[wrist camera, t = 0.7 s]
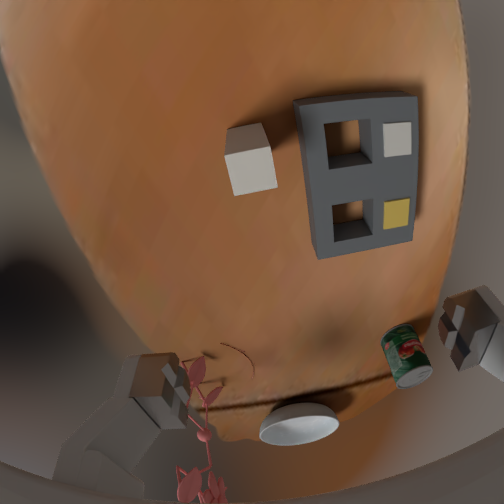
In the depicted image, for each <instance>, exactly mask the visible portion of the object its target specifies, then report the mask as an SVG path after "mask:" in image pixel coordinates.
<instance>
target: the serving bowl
mask: <svg viewBox="0 0 504 504" xmlns="http://www.w3.org/2000/svg"><path fill="white" fill-rule="evenodd" d="M338 426H339V420H338V418H337V416H336V414H335V413H334V412H333V411H332V410H331V409H330V408H328V407H327V406H325V405H322V404H318V403H309V402H306V403H296V404H291V405H287V406H284V407H281V408H279V409H277V410H275V411H273V412H271V413H270V414H269V415H268V416H267V417H266V418H265V419H264V420H263V422H262V424H261V427H260V434H259V436H260V439H261V440H262V441H264V442H266V443H269V444H274V445H298V444H304V443H308V442H312V441H315V440H318V439H321V438H324V437H326V436H327V435H329V434H331V433H333V432H334V431H335V430H336V429H337V428H338Z"/></svg>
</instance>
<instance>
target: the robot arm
mask: <svg viewBox="0 0 504 504" xmlns="http://www.w3.org/2000/svg"><path fill="white" fill-rule="evenodd" d="M443 309H444V310H445V312H444V314H443V315H442V316H441V317H440V320H439V325H438V329H439V336H440V339H441V341H442V343H443V345H444V346H445V347H447V348H449V349H451V355H450V357H451V359H452V361H453V362H454V364H455V366H456V368H457V370H458V371H459V372H460V371H462V370H465V369H468V368H470V367H473V366H475V365H478V364H480V366H482V367H483V368H484V369H486V370H487V371H488V372H490V373H491V374H493V375H494V376H495V377H497V378H499V379H500V380H501V381H502V382H504V306H503V304H502V303H501V302H500V301H499V300H498V298H497V297H496V296H495V295H494V294H493V292H492V291H491V290H490V289H489V288H488V287H487V286H485V285H482V286H479V287H477V288H474V289H472V290H467V291H464V292H461V293H459V294H455V295H452V296H449V297H447V298H446V299H445V301H444V304H443ZM190 392H191V388H190V380H189V377H188V374H187V372H186V370H185V369H184V368H182V367H180V366H179V358H178V357H177V355H176V353H173V352H170V353H155V354H142V355H128V356H127V357H126V358H125V360H124V363H123V367H122V370H121V373H120V376H119V379H118V382H117V386H116V389H115V393H114V396H113V398H108V399H107V400H106V401H105V402H104V403H103V404H102V405H101V406H100V407H99V408H98V409H97V410H96V411H95V412H94V413H93V414H92V415H91V416H90V417H89V418H88V419H87V420H86V421H85V422H84V423H83V424H82V425H81V426H80V427H79V428H78V429H77V430H76V431H75V432H74V433H73V434H72V435H71V436H70V437H69V438H68V439H67V440H66V441H65V442H64V443H63V444H62V446H61V450H60V453H59V456H58V460H57V464H56V467H55V471H54V474H53V478H52V480H51V479H48V478H44V477H42V476H39V475H35V474H33V473H30V472H27V471H24V470H22V469H19V468H16V467H14V466H11V465H8V464H6V463H4V462H1V461H0V504H504V428H502V429H500V430H499V431H497V432H495V433H493V434H491V435H490V436H488V437H486V438H484V439H482V440H480V441H478V442H476V443H474V444H472V445H470V446H468V447H466V448H464V449H462V450H459V451H457V452H455V453H453V454H451V455H448V456H446V457H444V458H441V459H439V460H437V461H434V462H432V463H429V464H426V465H424V466H421V467H418V468H416V469H413V470H410V471H407V472H404V473H402V474H398V475H395V476H392V477H389V478H385V479H383V480H379V481H375V482H371V483H368V484H364V485H360V486H356V487H352V488H348V489H344V490H338V491H334V492H329V493H324V494H318V495H312V496H306V497H299V498H293V499H283V500H274V501H263V502H250V503H182V502H167V501H156V500H147V499H143V493H144V483H143V482H142V481H141V480H140V479H138V478H137V477H135V476H133V475H132V474H131V472H132V471H133V469H134V468H135V466H136V465H137V464H138V462H139V461H140V459H141V458H142V457H143V455H144V454H145V453H146V451H147V450H148V448H149V447H150V446H151V444H152V443H153V442H154V440H155V439H156V437H157V436H158V435H159V433H160V432H161V430H160V429H179V428H180V429H181V428H187V419H188V408H187V407H186V406H185V403H186V402H187V401H188V399H189V398H190Z"/></svg>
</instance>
